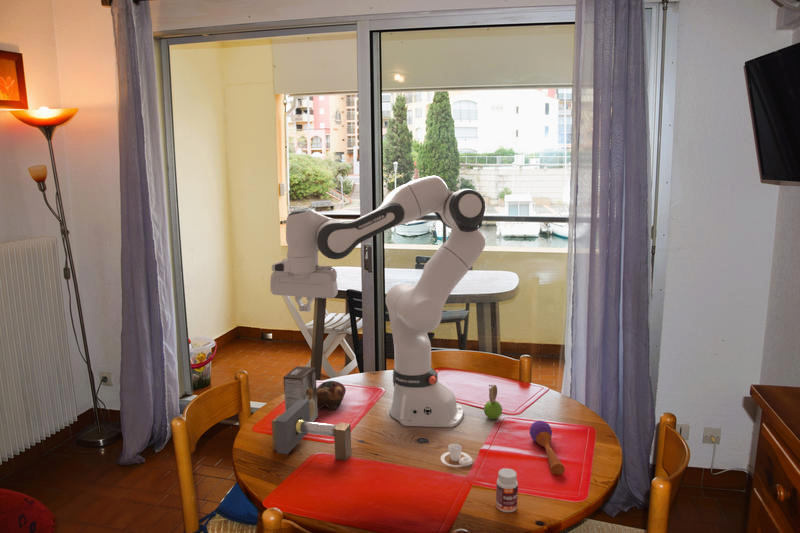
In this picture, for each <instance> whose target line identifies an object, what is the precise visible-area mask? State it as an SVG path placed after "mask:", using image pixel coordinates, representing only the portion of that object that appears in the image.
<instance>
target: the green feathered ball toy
mask: <svg viewBox="0 0 800 533" xmlns="http://www.w3.org/2000/svg"><path fill="white" fill-rule="evenodd" d="M488 386H489V389H488V391H489V392H488V399H489V400H488V401H487V402H486V403H485V404H484V406H483V412H484V415H485V417H487V418H488V419H491V420H496V419H498V418H500V417H501V415H502V413H503V407H502V405H501V403H500V402H499V401H497V400H496V399H497V395H498V386H497V385H496V384H489V385H488Z"/></svg>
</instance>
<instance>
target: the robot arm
mask: <svg viewBox="0 0 800 533" xmlns="http://www.w3.org/2000/svg"><path fill="white" fill-rule="evenodd" d="M485 212H486V201H485V198H484V197H483V196H482V194H481V193H480V192H478V191H477V190H474V189H471V188H462V189H459V190H457V191H451V190H450V189H449V188H448V185H447V184H446V182H445V181H444V180H443V179H442V178H441V177H440V176H438V175H428V176H425V177H420V178H417V179H414V180H411V181H408V182H407V183H406V182H405V183H404V184H401V185H400V186H397V187H396V188H394V189H392V190H391V191H389V192H388V193H387V194H385V196H384V198H383V201H382V203H381V204H380V205H379V206H378V207H377V208H375V209H374V210H372V211H371V212H369V213H367V214H365V215H362V216H360V217H358V218H356V219H354V220H352V221H349V222H342V221H340V220H339V219H336V218H332V217H328V216H326V215H324V214H321V213H319V212H317V211H316V210H314V209H313V208H310V207H305V208H299V209H296V210H293V211H291V212H290V213H288V214H287V217H286V222H285V242H286V244H287V252H286V258H285V259H282V260H280V261H277V262H275V263H273V264H271V270H272V273H271V275H270V282H269V283H270V285H269V286H270V293H272V295H274V296H285V297H287V296H288V297H294V300H295V302H296V304H297V305H298V310H299V312H310V311H311V310H312V309H311V307H312V306H311V305H312V303H313V302H314V300H315V299H316V298H318V299H334V298H335V297H337V295H338V292H339V290H338V289H339V288H338V282H337V276H338V275H337V274H338V273H337V270H336V269H335V268H333V267H332V266H331V265H319V252H320V253H321V254H322V255H323V256H324V257H326V258H328V259H331V260H340V259H344V258H346V257H347V256H348V255H350V253H352V251H353V250H354V249H356V247H357V246H358V245H359V244H361V243H363V242H364V241H367V240H368V239H371V238H373V237H374V236H377V235H379V234H381V233H382V232H385V231H387V230H389V229H392V228H395V227H398V226H401V225H405V224H408V223H411V222H413V221H416V220H418V219H421V218H423V217H425V216H428V215H429V214H435V215H436V217H437V218H438V219H439V220H440V222H441V223H442V224H443V225H444V226H445V227H447V228H448V229H451V232H450V233H449V236H448V237H447V239H446V240H445V242H443V243H442V244H441V246H440V247H439V248H438V249H437V250H436V251H435V252H434V253H433V254H432V256H431V257H430V258H429V260H427V261H426V263H425V264H424V266H423V268H422V274H421V275H420V278H419V279H418V281H417V283H416V285H415V286H413V285H410V284H403V283H402V284H396V285H393V286H392V287H390V289H388V291H387V293H386V295H385V305H386V308H387V312H388V316H389V323H390V324H389V325H390V328H391V329H390V330H391V333H392V334H391V335H392V339H393V349H394V355H393V356H394V357H393V358H394V368H393V369H392V370H393V371H392V383H393V397H392V402H391V407H390V409H389V414H390V416H391V417H392V418H394V419H395V420H396V421H398V422H399V423H400V424H401V426H403V427H430V428H431V427H433V428H435V427H436V428H454V427H455V426H457V425H460V423H461V422H462V420H463V417H464V416H465V415H464V414H465V413H464V411H465V410H464V407H463V406H462V405H460V404H457V400H456V399H457V398H456V396H455V394H454V392H453V391H452V390H451V389H450V388H448V387H447V386H445V385H444V384H443V383H442V382H440V381H439V380H438V374H439V370H438V369H436V370H434V368H432V344H431V341H430V338H429V335H428V333H429V332H432V331H434V330H435V329H437V327H439V325H440V324H441V321H442V317H443V309H444V306H445V304H446V303H447V300H448V298H449V297H450V295H451V293H452V291H453V290H454V288H456V286H457V285H458V284H459V283H460V281H462V279H463V278H464V276H465V275H466V274H468V271H470V269H471V268H472V267H473V266H474V265H475V263H476V262H477V261H478V259H479V257H480V255H481V254H482V252H483V250H484V249H485V247H486V238H485V237H484V235H483V233H482V232H481V231H480V230H479V229H480V228H481V227H482V225H483V219H484V215H485ZM303 298H306V301H307V303H303V300H302V299H303Z"/></svg>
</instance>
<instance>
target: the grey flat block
mask: <svg viewBox="0 0 800 533" xmlns="http://www.w3.org/2000/svg"><path fill="white" fill-rule="evenodd" d="M280 415H281V416H280V417H279V418H277V419H276V420H275V427H276V444H277V451H276V453H277V454H281V455H282V454H283V455H288V454H289V453H290V452H291V451H292V450H293V449H294V448H295V447H296V446H297V445H298V444H299V443H300V442H301V441H302V440H303V438H305V437H306V436H307V434H308V433H303V432H302V433H299V432H296V430H295V422H296V421H297V420H304V421H309V422H310V406H309V400H307V399H298V400H297V401H296V402H295V403H294V404H293V405H292V406H291V407H290V408H288V409H287V410H285V411H284V412H283V413H282V414H280Z"/></svg>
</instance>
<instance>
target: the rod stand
mask: <svg viewBox="0 0 800 533" xmlns="http://www.w3.org/2000/svg"><path fill="white" fill-rule="evenodd" d="M281 415H282V414H278V415H276V417H274V418H273V420H271V428H272V430H271V431H272V447H273V448H272V449H273V451H276V452H277V444H276V427H275V420H276V419H277V418H279V417H280V416H281ZM295 430H296V432H299V433H302V432H303V433H307V434H311V435H319V436H326V437H333V438H334V439H333V440H334V460H336V461H337V460H338V461H343V462H345V461H347V460H348V459H349V457H350V456H351V455H352V430H351V423H347V422H339V423H338V424H332V423H323V422H316V421H314V422H309V421H304V420H297V421H296V422H295Z"/></svg>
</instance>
